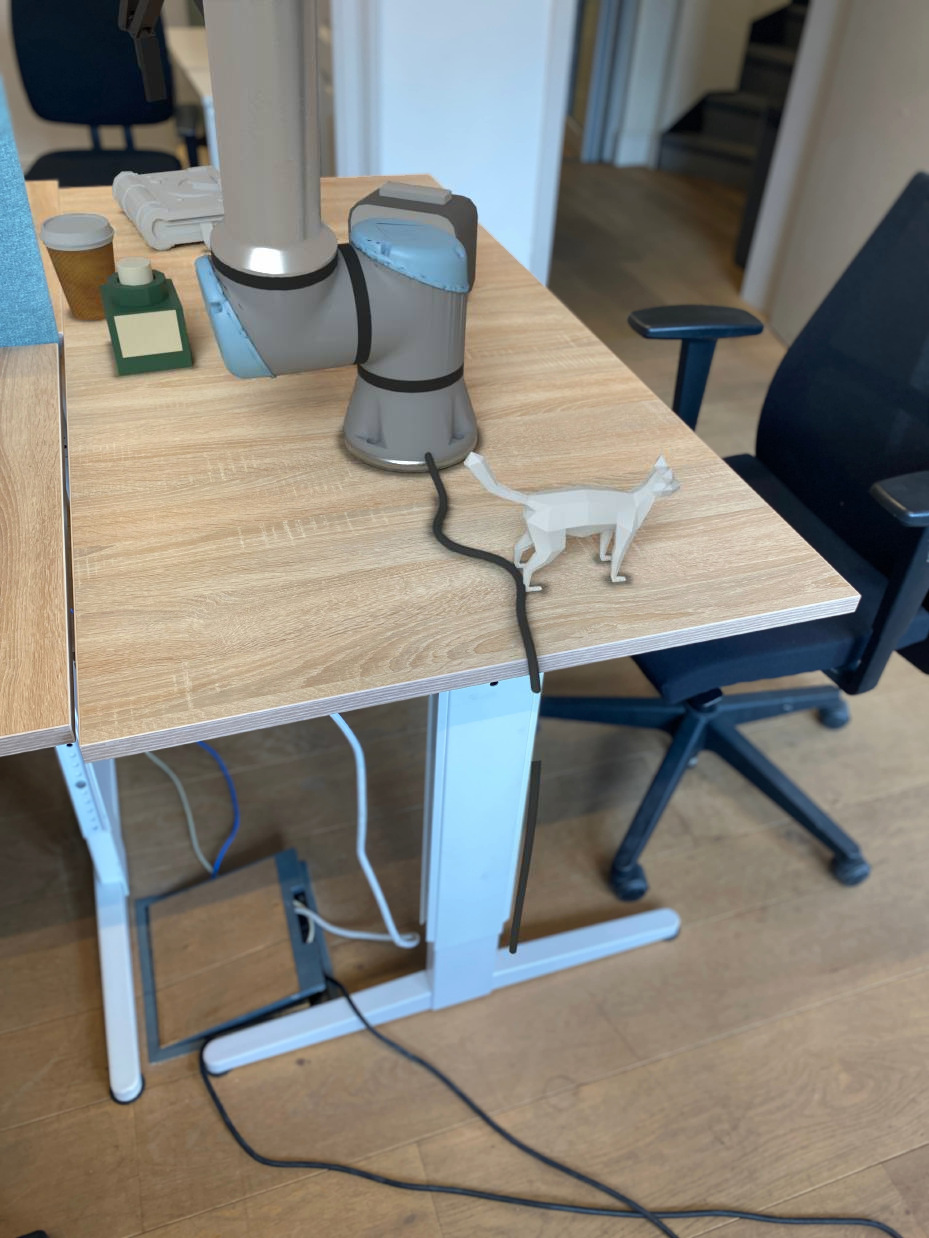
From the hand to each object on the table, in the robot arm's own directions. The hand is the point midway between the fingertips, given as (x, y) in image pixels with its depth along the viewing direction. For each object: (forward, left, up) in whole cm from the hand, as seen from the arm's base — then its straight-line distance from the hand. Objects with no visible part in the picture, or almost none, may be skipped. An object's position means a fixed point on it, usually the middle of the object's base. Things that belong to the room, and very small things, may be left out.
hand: (195, 108), depth 111 cm
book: (+38, +7, -26) cm, 47 cm away
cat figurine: (-64, -33, -26) cm, 77 cm away
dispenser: (-12, +9, -26) cm, 30 cm away
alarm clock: (+5, -28, -26) cm, 39 cm away
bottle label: (-17, +8, -24) cm, 30 cm away
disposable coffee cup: (+3, +18, -26) cm, 32 cm away
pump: (-12, +9, -17) cm, 22 cm away
